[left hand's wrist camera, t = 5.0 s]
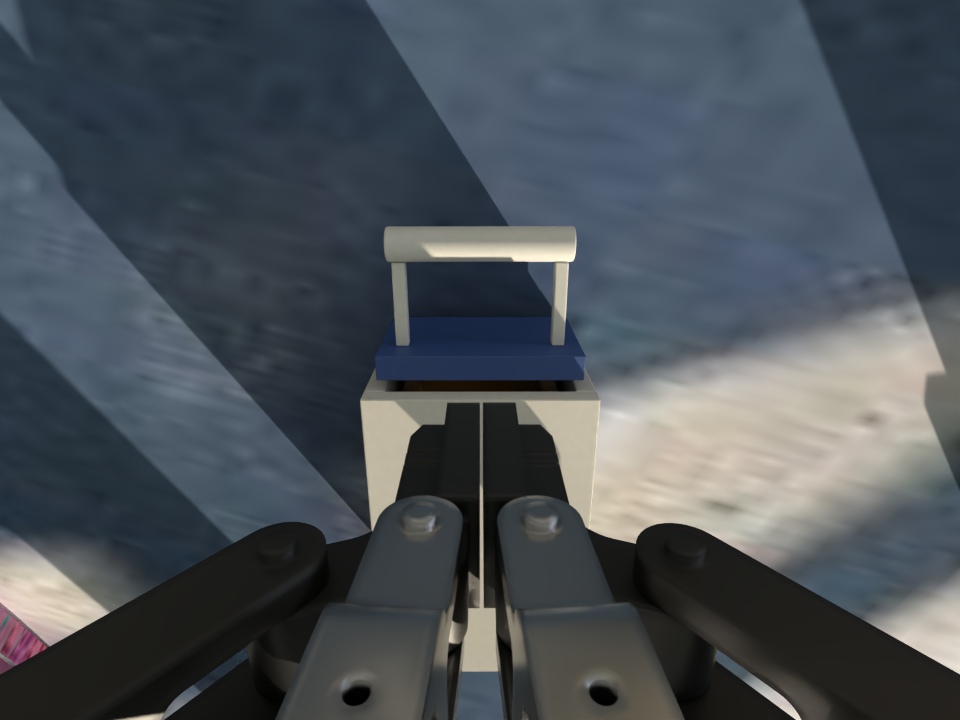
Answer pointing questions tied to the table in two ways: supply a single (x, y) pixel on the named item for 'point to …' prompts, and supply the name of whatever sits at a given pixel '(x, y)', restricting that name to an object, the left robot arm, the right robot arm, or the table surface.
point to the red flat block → (16, 642)
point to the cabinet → (404, 413)
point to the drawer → (480, 340)
